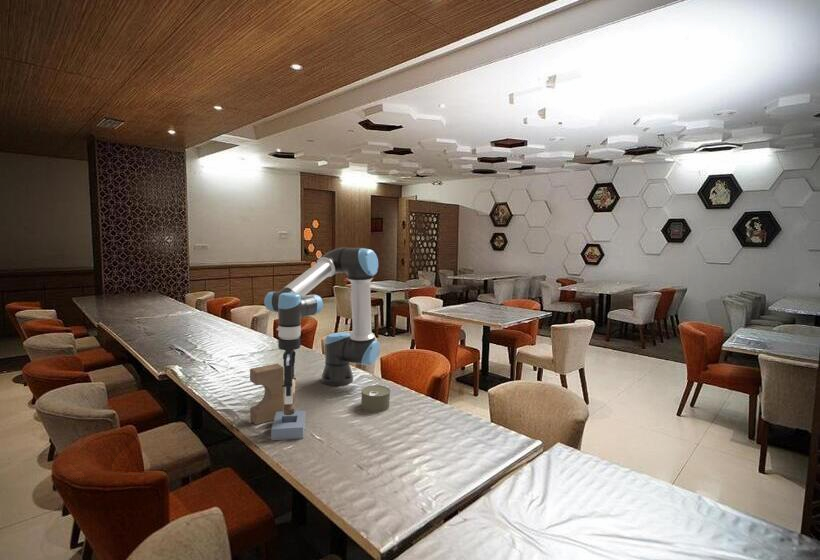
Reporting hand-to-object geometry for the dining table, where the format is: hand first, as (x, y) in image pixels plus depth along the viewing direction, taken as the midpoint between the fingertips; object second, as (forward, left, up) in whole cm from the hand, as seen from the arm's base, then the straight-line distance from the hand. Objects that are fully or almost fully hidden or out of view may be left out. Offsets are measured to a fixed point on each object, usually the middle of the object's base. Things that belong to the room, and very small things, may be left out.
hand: (289, 401), depth 147 cm
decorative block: (+9, -10, -11) cm, 17 cm away
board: (0, 0, -11) cm, 11 cm away
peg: (0, 0, -4) cm, 4 cm away
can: (-33, -17, -11) cm, 39 cm away
